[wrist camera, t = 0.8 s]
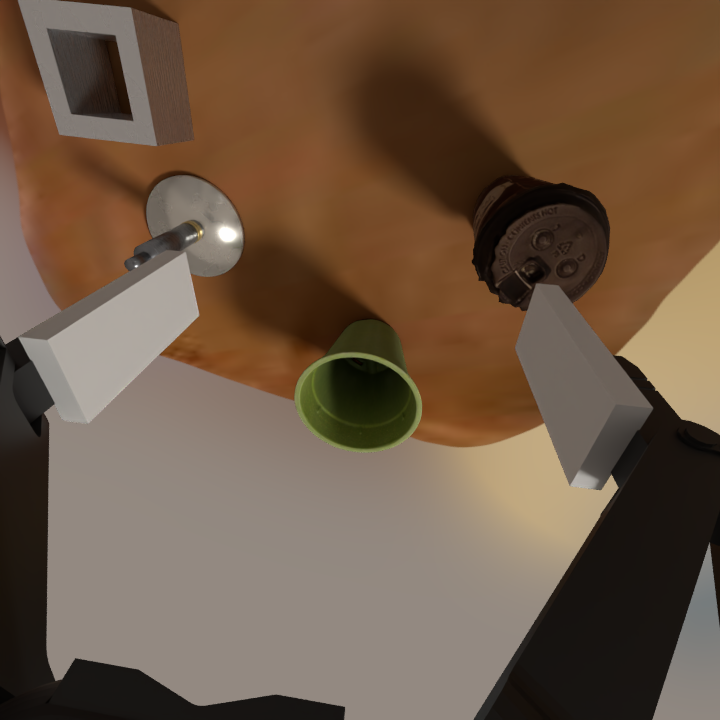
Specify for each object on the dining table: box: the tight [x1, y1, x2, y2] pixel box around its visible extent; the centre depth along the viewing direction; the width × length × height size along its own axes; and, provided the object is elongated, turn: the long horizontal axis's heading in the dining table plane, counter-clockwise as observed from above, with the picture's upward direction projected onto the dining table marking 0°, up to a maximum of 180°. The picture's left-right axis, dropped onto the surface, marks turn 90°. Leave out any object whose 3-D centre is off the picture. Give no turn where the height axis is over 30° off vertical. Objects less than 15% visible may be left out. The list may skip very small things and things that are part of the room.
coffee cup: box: [472, 176, 610, 311], centre depth 29 cm, size 9×8×13 cm
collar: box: [18, 0, 194, 146], centre depth 30 cm, size 8×8×6 cm
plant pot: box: [294, 319, 422, 452], centre depth 40 cm, size 12×12×11 cm
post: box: [124, 175, 245, 277], centre depth 34 cm, size 10×10×11 cm
